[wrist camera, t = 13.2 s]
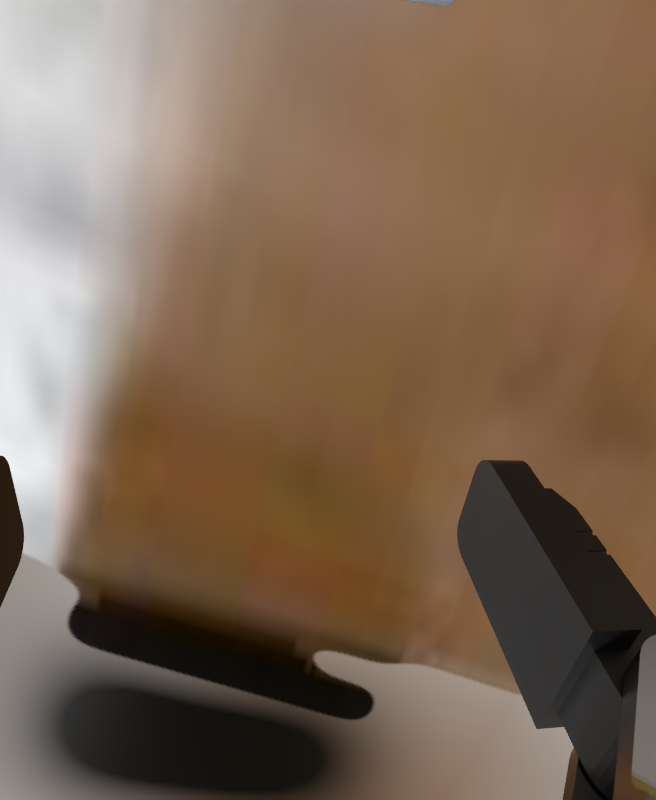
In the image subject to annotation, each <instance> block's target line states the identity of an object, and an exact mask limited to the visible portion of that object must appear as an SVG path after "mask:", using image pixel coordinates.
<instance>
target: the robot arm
mask: <svg viewBox="0 0 656 800" xmlns="http://www.w3.org/2000/svg"><path fill="white" fill-rule="evenodd" d="M457 536H458V545H459V550H460V553H461V556H462V558H463V561H464V563H465V565H466V568H467V570H468V572H469V575H470V577H471V579H472V581H473V584H474V586H475V588H476V591H477V593H478V595H479V598H480V600H481V602H482V604H483V607H484V609H485V611H486V614H487V616H488V618H489V621H490V623H491V625H492V627H493V630H494V632H495V634H496V637H497V639H498V641H499V643H500V646H501V648H502V650H503V653H504V655H505V657H506V660H507V662H508V664H509V666H510V669H511V671H512V673H513V676H514V678H515V680H516V683H517V685H518V687H519V689H520V692H521V694H522V696H523V699H524V701H525V703H526V705H527V708H528V710H529V712H530V715H531V716H532V719H533V722H534V724H535V726H536V728H537V729H541V728H554V727H565V729H566V731H567V733H568V736H569V738H570V740H571V742H572V744H573V746H574V749H573V750H572V752H571V755H570V759H569V765H568V771H567V777H566V783H565V789H564V794H563V800H656V617H655V615H654V614H653V613H652V611H651V610H650V609H649V607H648V606H647V604H646V603H645V602H644V600H643V599H642V598H641V596H640V595H639V594H638V592H637V591H636V589H635V588H634V587H633V585H632V584H631V583H630V581H629V580H628V579H627V577H626V576H625V574H624V573H623V572H622V570H621V569H620V568H619V566H618V565H617V564H616V562H615V561H614V559H613V558H612V557H611V555H607V553H606V548H605V547H604V546H603V544H602V543H601V542H600V540H599V539H598V538H597V536H596V535H594V536H593V534H592V529H591V528H590V527H589V525H588V524H587V523H586V521H585V520H584V518H583V517H582V516H581V514H580V513H579V512H578V510H577V509H576V508H575V507H574V506H573V505H571V504H570V503H569V502H568V501H566V500H565V499H564V498H563V497H561V496H560V495H559V494H558V493H556V492H555V491H554V490H553V489H546V488H544V487H543V485H542V484H541V483H540V481H539V480H538V478H537V477H536V475H535V474H534V472H533V471H532V470H531V468H530V467H529V465H528V464H527V463H525V462H524V461H503V460H483V461H481V462H480V463H479V464H478V466H477V467H476V470H475V473H474V476H473V479H472V482H471V485H470V488H469V491H468V494H467V497H466V500H465V503H464V507H463V510H462V513H461V516H460V519H459V523H458V531H457ZM23 543H24V530H23V523H22V519H21V515H20V510H19V506H18V502H17V497H16V493H15V489H14V484H13V480H12V476H11V471H10V467H9V464H8V462H7V460H6V459H5V458H4V457H3V456H0V607H1V604H2V602H3V600H4V597H5V595H6V593H7V591H8V588H9V586H10V584H11V581H12V579H13V577H14V575H15V572H16V570H17V567H18V565H19V562H20V559H21V555H22V550H23Z"/></svg>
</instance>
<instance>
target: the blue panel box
mask: <svg viewBox="0 0 656 800" xmlns="http://www.w3.org/2000/svg"><path fill="white" fill-rule="evenodd" d="M411 1H417V2H424V3H431V4H437V5H444V6H447V5H449V4H450V3H451V2H453V0H411Z"/></svg>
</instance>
